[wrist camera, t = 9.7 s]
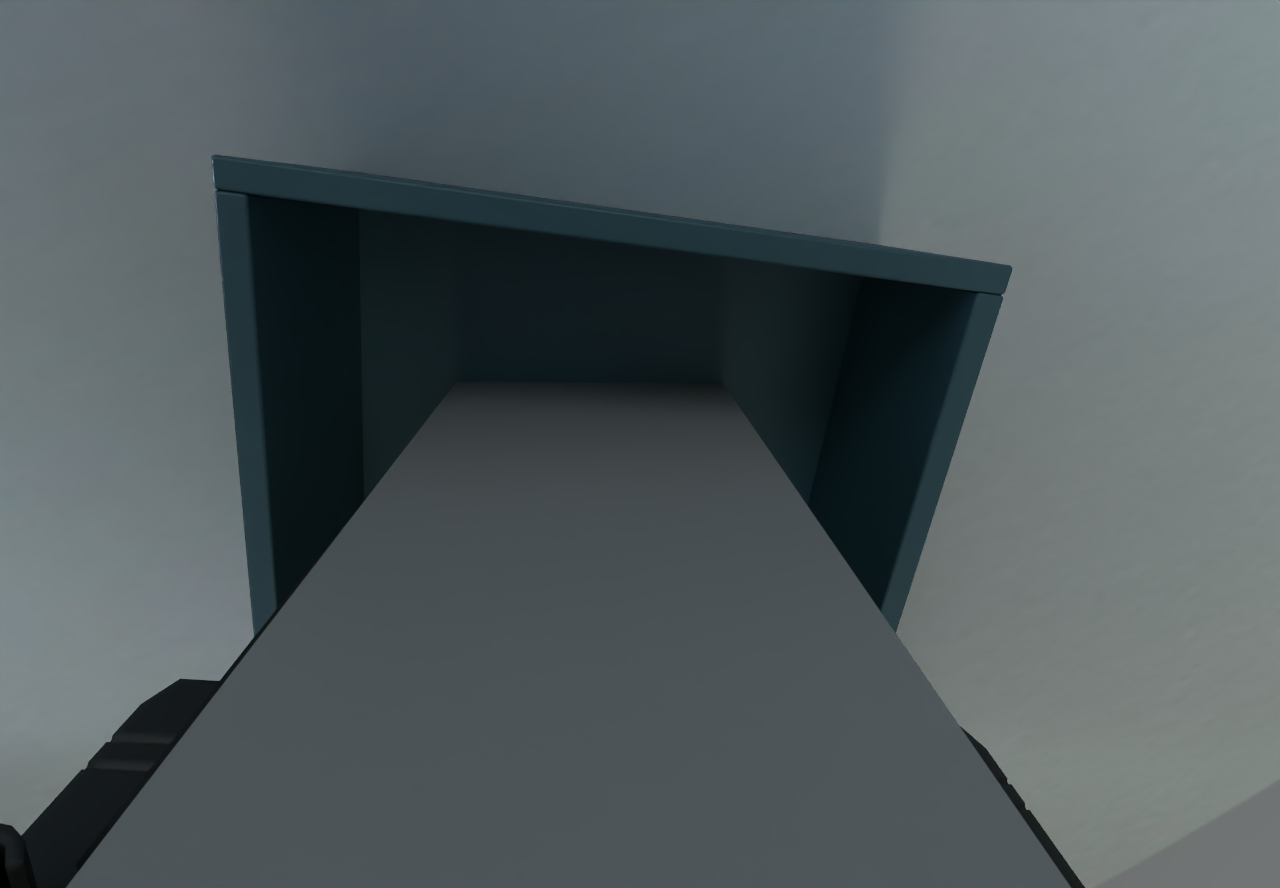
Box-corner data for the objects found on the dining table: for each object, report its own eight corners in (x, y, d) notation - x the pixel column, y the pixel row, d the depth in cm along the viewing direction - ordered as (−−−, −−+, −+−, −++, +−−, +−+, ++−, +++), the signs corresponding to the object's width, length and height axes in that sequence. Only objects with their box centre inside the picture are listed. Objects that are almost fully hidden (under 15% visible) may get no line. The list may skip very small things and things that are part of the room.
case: (345, 170, 15) (209, 154, 10) (880, 245, 16) (1015, 265, 11) (357, 689, 20) (273, 862, 15) (763, 713, 21) (817, 880, 16)
